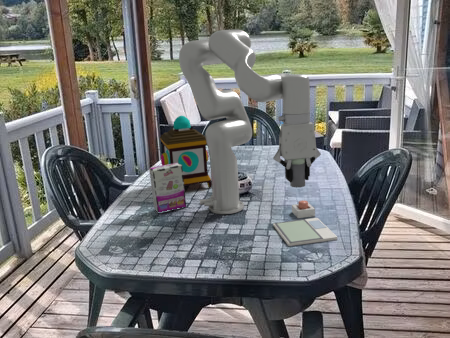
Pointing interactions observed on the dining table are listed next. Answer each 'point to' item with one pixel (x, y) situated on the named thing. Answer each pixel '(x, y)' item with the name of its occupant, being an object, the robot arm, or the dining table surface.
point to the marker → (298, 173)
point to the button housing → (303, 211)
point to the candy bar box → (167, 187)
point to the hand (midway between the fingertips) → (297, 179)
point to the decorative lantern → (186, 151)
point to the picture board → (304, 231)
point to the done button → (303, 205)
